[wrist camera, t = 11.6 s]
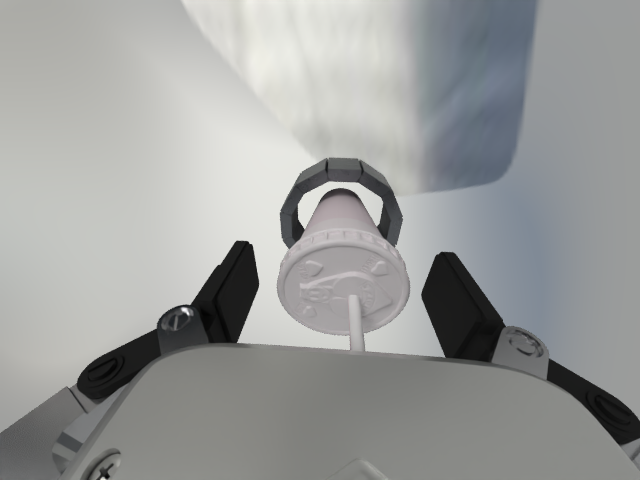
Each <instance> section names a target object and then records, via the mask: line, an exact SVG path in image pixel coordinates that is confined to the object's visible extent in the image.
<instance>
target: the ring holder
mask: <svg viewBox="0 0 640 480" xmlns="http://www.w3.org/2000/svg"><path fill="white" fill-rule="evenodd" d="M328 181H335V182H337V181H338V182H358V183H360V184H361V185H363V186H364V187H366V188H368V189H369V190H371V191H372V192H374V193H375V194H377V195H378V196H380V197H381V198H382V201H383V208H382V214H381V219H380V224H379V225H378V226H377V229H378V230H379V232H380V234H381V235H382V237H383V238H384V239H385V240H387V241H388V242H389V243H390V244H391V245H392V246H393V247H394V248H395V244H396V245H397V241H398V237H399V233H400V229H401V225H402V221H403V219H402V217H403V216H402V214H401V211H400V208H399V206H398V203H397V201H396V198H395V196H394V193H393V191H392V189H391V187H390V186H389V184H388V182H387V180H386V179H385V177H384V176H383V175H382V174H381V173H379V172H378V171H376V170H375V169H373V168H372V167H370V166H369V165H368V164H366V163H365V162H363V161H362V160H360V161H358V159H351V158H329V162H328V160H327V158H326V159H324V160H322V161H321V162H319V163H317V164H315V165H313V166H311V167H310V168H308V169H306V170H304V171H303V172H302V173H301V174H300V175H299V177H298V178H297V180H296V182H295V184H294V186H293V187H292V189H291V191H290V193H289V194H288V196H287V198H286V200H285V203H284V204H283V207H282V209H281V212H280V221H281V232H282V233H281V234H282V238H283V241H284V243H285V244H286V246H287V247H288V248H289V249H290V248H291V247H292V246H293V245H294V244H295V243H296V242H297V241H298V240H300V238H301V237H302V235H303V233H304V231H305V229H304V228H303V226H302V225H301V223H300V222H299V220H298V203H299V201H300V200H301V198H302V196H303V195H304V194H305V193H307V192H309V191H311V190H312V189H315V188H317V187H318V186H321V185H323V184H324V183H326V182H328Z"/></svg>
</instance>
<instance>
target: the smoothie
mask: <svg viewBox="0 0 640 480" xmlns="http://www.w3.org/2000/svg"><path fill="white" fill-rule="evenodd" d="M277 293H278V297H279V299H280V302H281V304H282V306H283V307H284V309H285V310H286V311H287V312H288V314H289V315H290V316H292V317H293V318H294V319H295V320H296V321H298V322H299V323H301V324H302V325H304V326H306V327H308V328H310V329H312V330H315V331H319V332H322V333H326V334H332V335H345V336H346V335H350V350H352V351H365V344H364V334H363V333H367V332H370V331H373V330H376V329H379V328H380V327H382V326H384V325H386V324H388V323H389V322H391V321H392V320H393V319H394V318H396V317H397V316H398V315H399V314H400V312H401V311H402V310H403V308H404V307H405V305H406V303H407V301H408V298H409V294H410V281H409V277H408V274H407V272H406V267H405V263H404V261H403V259H402V258H401V256H400V254H399V252H398V250H396V249H395V248H394V247H393V246H392V245H391V244H390V243H389V242H388V241H387V240H385V239H384V238H383V237H382V235H381V234H380V232H379V230H378V229H377V227H376V225H375V224H374V222H373V220H372V218H371V217H370V215H369V213H368V212H367V210H366V208H365V206H364V205H363V203H362V201H361V200H360V198H359V197H358V195H357V194H355V193H354V192H353V191H351V190H348V189H344V188H338V189H333V190H331V191H329V192H327V193H326V194H325V195H324V196H323V197H322V198H321V200H320V202H319V204H318V206H317V208H316V209H315V211H314V213H313V215H312V217H311V219H310V221H309V223H308V225H307V227H306V229H305V231H304V233H303V235H302V237H301V238H300V240H298V241H297V242H296V243H295V244H294V245H293V246H292V247H291V248H290V249H289V250H288V251H287V253H286V255H285V257H284V258H283V260H282V262H281V266H280V272H279V276H278V280H277Z"/></svg>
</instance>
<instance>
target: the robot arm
mask: <svg viewBox="0 0 640 480" xmlns="http://www.w3.org/2000/svg"><path fill="white" fill-rule="evenodd" d="M258 288H259V279H258V273H257V268H256V262H255V256H254V250H253V246H252V244H249V242H248V241H236V242H235V243H234V245H233V247H232V248H231V250H230V251H229V253H228V254H227V256H226V257H225V259H224V260H223V262H222V263H221V265H218V266H217V267H216V268H215V269H214V271H213V272H212V274H211V275H210V277H209V278H208V280H207V281H206V283H205V284H204V286H203V287H202V289H201V290H200V292H199V293H198V295H197V296H196V298H195V299H194V301H193V302H192V303H191V305H180V306H176V307H174V308H172V309H170V310H168V311H167V312H166V313H165V314H163V315H162V316H161V318H160V319H159V321H158V323H157V329H155V330H153V331H151V332H149V333H147V334H145V335H143V336H141V337H139V338H137V339H135V340H133V341H131V342H129V343H127V344H125V345H123V346H121V347H119V348H117V349H115V350H112V351H111V352H108V353H106V354H104V355H102V356H101V357H99V358H97V359H96V360H94V361H93V362H92V363H91V364H89V365H88V366H87V367H86V368H85V369H84V370H83V372H82V373H81V375H80V376H79V378H78V381H77V383H76V384H75V385H74V386H72V387H71V388H68V387H65V388H63V389H62V390H60V391H59V392H58V393H56V394H55V395H53V396H52V397H51V398H49V399H48V400H46V401H45V402H44V403H42V404H41V405H39V406H38V407H36V408H35V409H34V410H32V411H31V412H29V413H28V414H27V415H25V416H24V417H22V418H21V419H19V420H18V421H17V422H15V423H14V424H12V425H11V426H10V427H8V428H7V429H5V430H4V431H3V432H1V433H0V480H640V421H639V419H638V418H637V416H636V415H635V414H634V413H633V412H632V411H631V410H630V409H629V408H628V407H627V406H626V405H625V404H623V403H622V402H621V401H620V400H618V399H617V398H615V397H614V396H612V395H611V394H609V393H608V392H606V391H604V390H602V389H601V388H599V387H597V386H596V385H594V384H592V383H591V382H589V381H587V380H585V379H584V378H582V377H580V376H579V375H577V374H575V373H573V372H572V371H570V370H568V369H567V368H565V367H563V366H561V365H560V364H558V363H556V362H555V361H553V360H551V359H549V352H548V350H547V348H546V346H545V345H544V343H543V342H542V341H541V340H540V339H539V338H537V337H536V336H535V335H533V334H532V333H530V332H529V331H527V330H524V329H522V328H519V327H514V326H507V327H506V326H505V324H504V323H503V320H502V318H501V317H500V315H499V314H498V313H497V311H496V310H495V308H494V307H493V306H492V304H491V303H490V301H489V300H488V299H487V297H486V296H485V294H484V293H483V292H482V290H481V289H480V287H479V286H478V285H477V283H476V282H475V280H474V279H473V278H472V276H471V275H470V273H469V272H468V271H467V269H466V268H465V266H464V265H463V264H462V262H461V261H460V259H459V258H458V257H457V256H456V254H455V253H453V252H441V253H440V254H438V255H436V256H435V259H434V261H433V264H432V267H431V269H430V272H429V274H428V277H427V280H426V282H425V285H424V288H423V290H422V294H421V296H422V300H423V302H424V305H425V308H426V310H427V313H428V315H429V317H430V320H431V323H432V325H433V328H434V330H435V332H436V335H437V337H438V340H439V342H440V345H441V347H442V350H443V352H444V355H445V357H446V358H443V357H430V356H419V355H406V354H392V353H379V352H366V351H352V350H338V349H323V348H310V347H294V346H280V345H263V344H244V343H237V341H238V339H239V336H240V334H241V331H242V329H243V326H244V324H245V321H246V318H247V316H248V313H249V311H250V308H251V306H252V303H253V300H254V298H255V295H256V293H257V291H258Z"/></svg>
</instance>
